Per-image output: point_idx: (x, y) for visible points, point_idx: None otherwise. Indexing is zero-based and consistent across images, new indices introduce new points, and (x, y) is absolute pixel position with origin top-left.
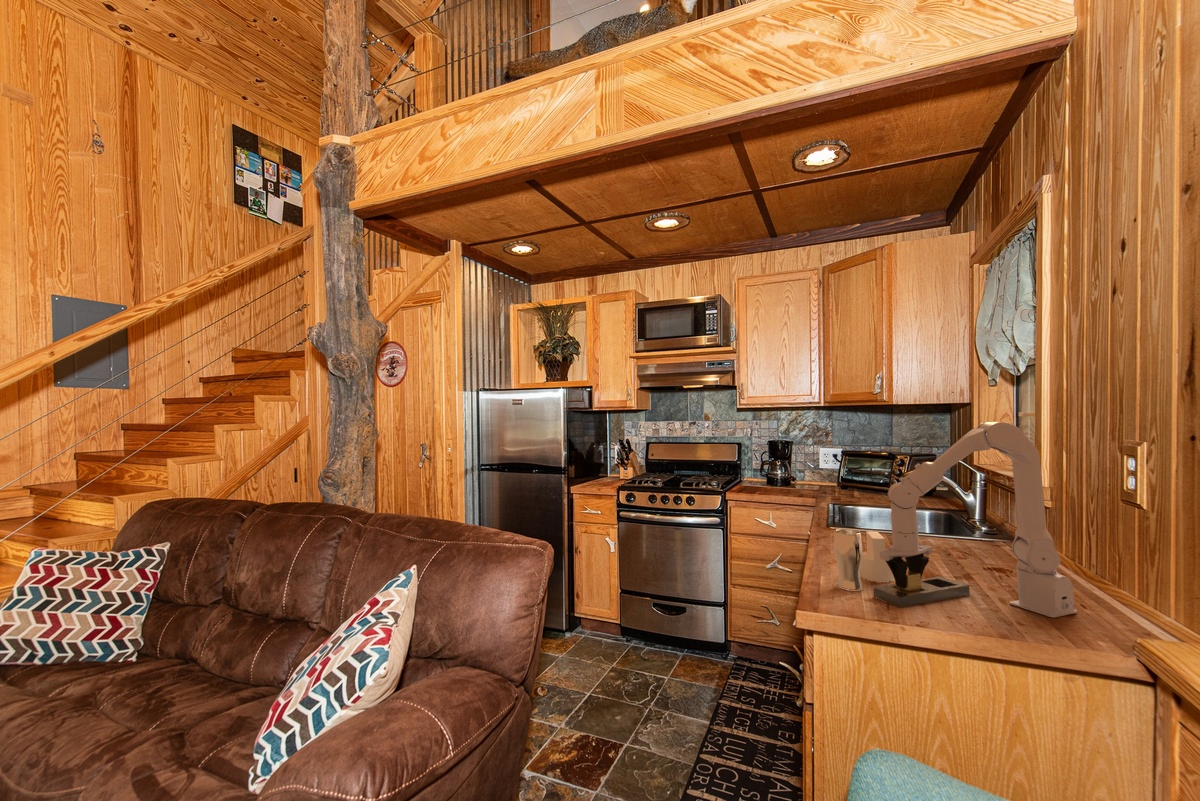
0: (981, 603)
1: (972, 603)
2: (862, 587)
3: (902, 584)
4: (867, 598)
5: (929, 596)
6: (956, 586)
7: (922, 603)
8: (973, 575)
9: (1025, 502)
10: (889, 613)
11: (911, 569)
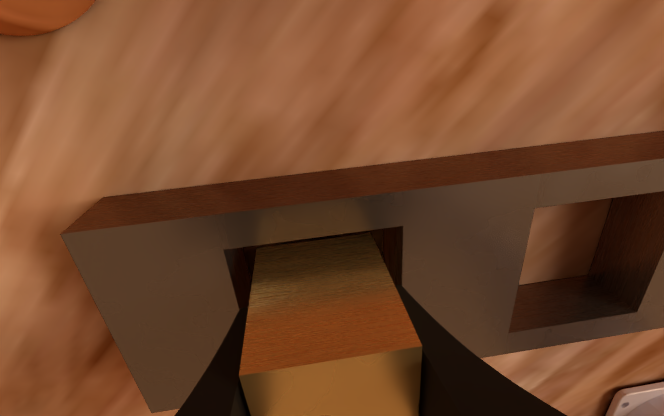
0: (550, 365)
1: (522, 360)
2: (79, 5)
3: None
4: (43, 203)
5: None
6: (601, 330)
7: None
8: None
9: None
10: (73, 399)
11: (430, 395)
